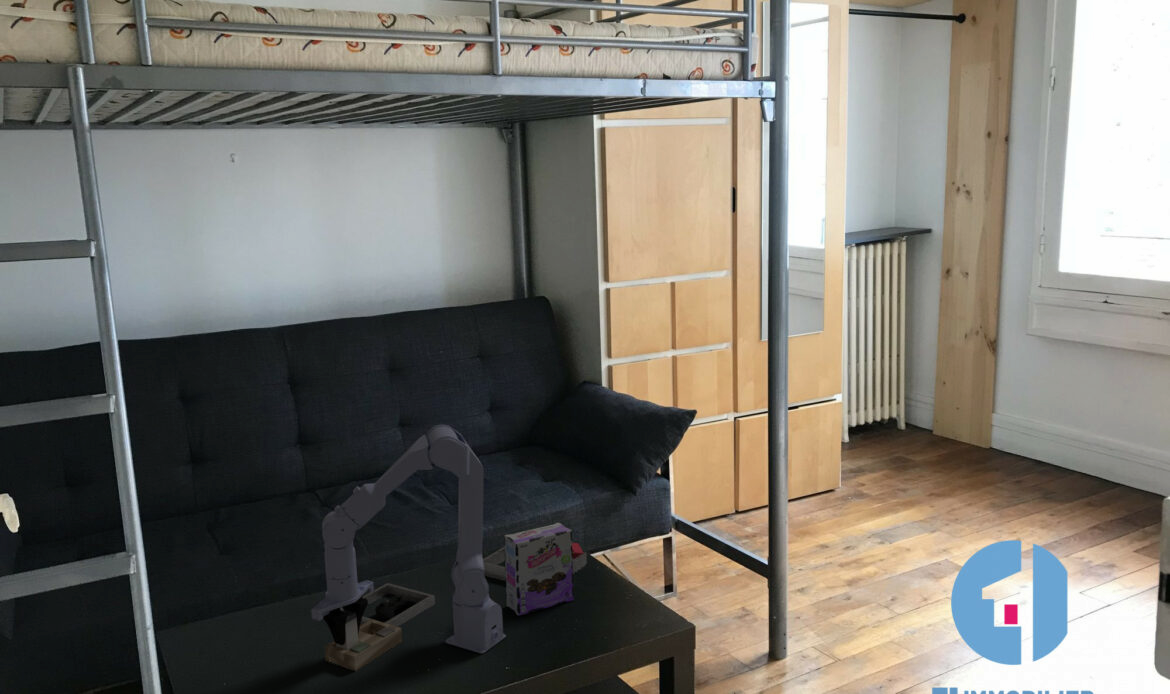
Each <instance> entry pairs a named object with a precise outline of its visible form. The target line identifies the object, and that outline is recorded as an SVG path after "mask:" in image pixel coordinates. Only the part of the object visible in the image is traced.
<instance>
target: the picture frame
mask: <svg viewBox="0 0 1170 694" xmlns="http://www.w3.org/2000/svg"><path fill="white" fill-rule="evenodd" d="M388 594H389V595H393V596H402V597H409V598H413V599H415V600H417V601H419V603H417V604H415V605H414V606H412V607H410V608H409V609H405V610H403V611H402V612H401V613H398V614H396V615H394V618H392V619H390V620H388V621H387V622H384V623H386V624H390V625H393V626H396V627H400V626H401V625H403V624H405V623H407V622H408V621H410V620H412V619H413V618H415V617H416V616H418V615H420V614H422V613H423V612H425V611H426V610H428V609H429V608H431V607H432V606H434V605H436V601H435V595H433V594H430V593H425V592H423V591H419V590H416V589H411V588H407V587H404V586H400V585H397V584H393V583H389V582H387V583H384V584H383V585H381V586H379V587H378V588H376V589H374V591H373V592H371V593H369V592H367V593H366V594H364V595H362V598H364V599H367V600H368V604H369V605H370V604H372V603H374V602H375V601H377V599H378V600H379V599H381V598H382V597H385V596H387V595H388ZM340 610H342V611H343V607H340ZM424 610H425V611H424ZM371 619H372V618H369V617H366V616H362V619H361V623H360V626H361V625H363V624H364V623H366V622H368V621H370V620H371ZM375 620H376V619H375ZM376 621H378V620H376Z"/></svg>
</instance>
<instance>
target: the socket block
mask: <svg viewBox="0 0 1170 694" xmlns="http://www.w3.org/2000/svg"><path fill="white" fill-rule="evenodd" d="M370 619H371V620H370V621H368V622H366V623H364V624H363V625H361V626H360V628H359V634H358V642H359V643H358V644H356V645H355V646H353V647H352V648H350V649H349V650H347V651H346V650H343V649H340V648H337V647H336V643H335V641H334V640H333V641H332V642H330V643H328V644H327V645H324V647H323V649H324V658H325V659H324V660H325V662H327V661H329V662H328V663H330V662H332V663H331V664H333V663H335V664H337V665H336V666H338V665H340V666H339V667H341V666H342V667H341V668H344V667H345V669H348V670H350V671H353V670H354V672H358V671H359V670H361V669H362V668H363V667H365V666H367V665H368V664H370V663H371V662H373V661H374V659H375V658H376V659H378V658H379V657H381V656H383V655H384V654H386V653H387V652H389V651H390V650H392V649H393V648H395V647H397V646H398V645H399V643H400V644H401V643H403V632H402V627H400V626H398V627H396V626H393V625H390V624H386V623H385V622H384V621H379V620H377V621H376V619H373V618H370ZM397 644H398V645H397ZM396 645H397V646H396ZM394 646H395V647H394ZM391 648H392V649H391ZM389 649H390V650H389ZM388 650H389V651H388ZM386 651H387V652H386ZM385 652H386V653H385ZM383 653H384V654H383ZM380 655H381V656H380ZM377 657H378V658H377ZM376 659H375V660H376ZM372 660H373V661H372ZM369 662H370V663H369ZM335 664H334V665H335ZM366 664H367V665H366ZM364 665H365V666H364ZM361 667H362V668H361ZM358 669H359V670H358Z"/></svg>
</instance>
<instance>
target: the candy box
mask: <svg viewBox="0 0 1170 694" xmlns="http://www.w3.org/2000/svg"><path fill="white" fill-rule="evenodd" d="M572 533H573V531H572V529H570V528H568V527H566V526H565V525H564V524H562V523H560V522H555V523H553V524H550V525H546V526H542V527H537V528H532V529H528V530H523V531H519V532H515V533H511V534H504V537H503V538H504V546H505V561H504V562H505V563H504V565H505V566H504V567H505V570H506V571H505V572H506V581H505V591H506V592H505V597H506V598H505V599H506V601H505V602H506V606H507V607H508V608H509V609H510V610H511V611H512V612H513V613H514V614H515V615H517V616H523V615H526V614H530V613H532V612H537V611H540V610H543V609H548V608H550V607H551V608H552V607H554V606H558V605H562V604H566V603H569V602H572V601H574V599H575V598H574V595H575V594H574V574H573V562H572V543H573V536H572V535H573V534H572Z"/></svg>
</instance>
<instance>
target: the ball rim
mask: <svg viewBox="0 0 1170 694" xmlns="http://www.w3.org/2000/svg"><path fill="white" fill-rule="evenodd" d="M572 552H573V550H572ZM573 554H574V553H572V556H573ZM587 555H588V554H587V552H584V551H583V554H580V555H579V556H577V557H576V558H574V559H573V560H572V562H573V575H574V574H576V573H577V572H579V571H580V570H582V569H583V568H584V567H586V566H587V565H586V564H588V561H587V560H588V559H587V558H588V557H587ZM503 562H505V545H504V546H503V547H501V548H500V549H498V550H496V551H495V552H493V553H491V554H489V555H488V556H486V557H484V558H483V564H484V577H488V578H492V579H495V580H500V581H503V582H506V572H505V571H506V570H505V566H502V565H500V564H501V563H503ZM585 565H586V566H585ZM582 567H583V568H582ZM578 570H579V571H578ZM575 572H576V573H575Z"/></svg>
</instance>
